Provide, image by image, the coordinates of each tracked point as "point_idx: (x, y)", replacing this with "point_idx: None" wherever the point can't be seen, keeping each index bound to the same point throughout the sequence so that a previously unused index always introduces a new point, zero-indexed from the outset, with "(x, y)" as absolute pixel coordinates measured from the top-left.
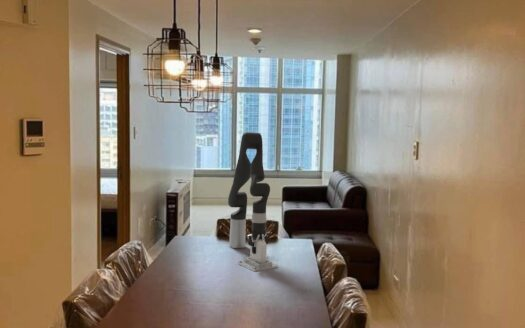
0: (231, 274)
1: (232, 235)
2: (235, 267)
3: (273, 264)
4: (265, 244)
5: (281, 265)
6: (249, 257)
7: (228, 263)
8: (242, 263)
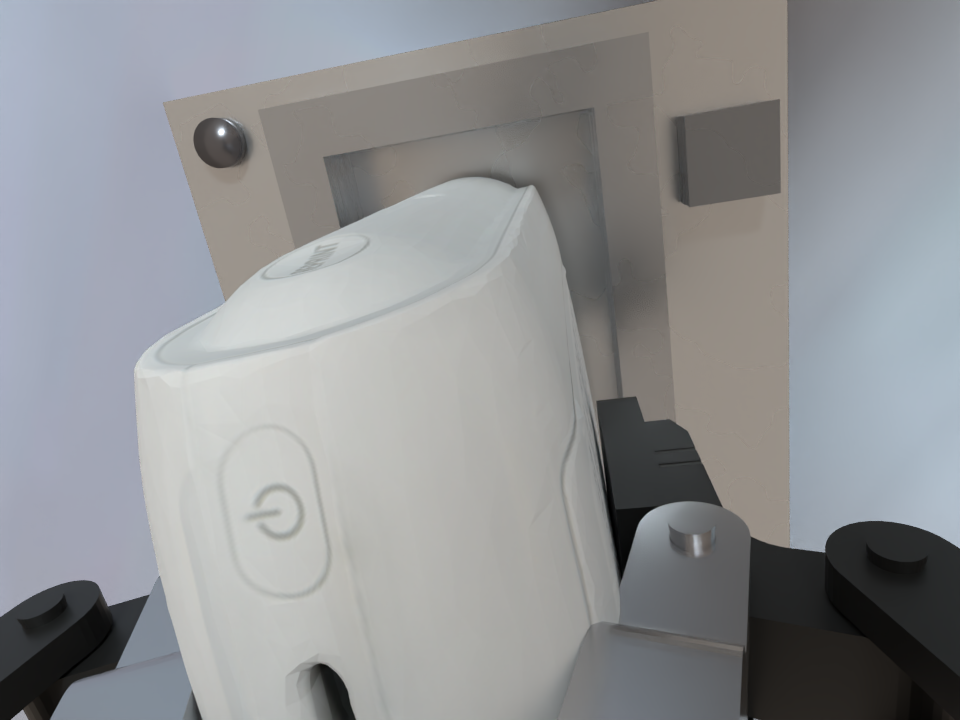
0: (5, 570)
1: None
2: (106, 309)
3: (747, 503)
4: None
5: (906, 487)
6: (397, 137)
7: (16, 14)
8: (231, 245)
